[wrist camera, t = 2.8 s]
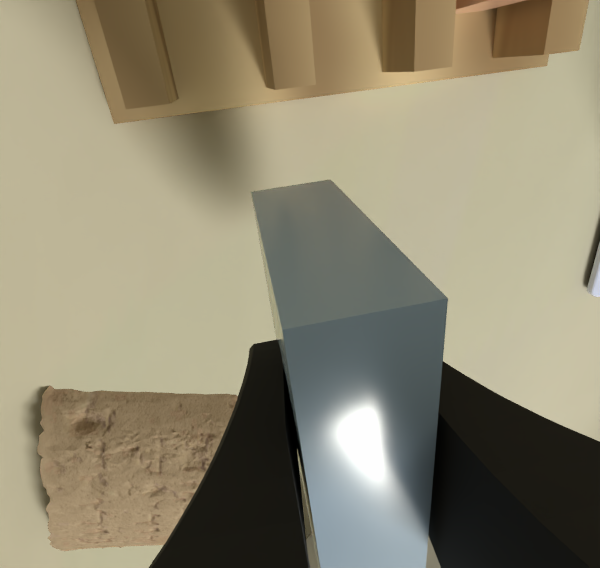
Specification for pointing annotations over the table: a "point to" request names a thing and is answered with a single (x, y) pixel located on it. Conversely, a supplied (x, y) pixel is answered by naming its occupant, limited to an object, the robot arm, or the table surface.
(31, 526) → the table surface
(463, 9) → the wooden block
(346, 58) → the rack
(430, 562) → the lumpy-topped squat cylinder
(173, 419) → the clay tablet
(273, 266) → the pale blue block
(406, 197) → the table surface
